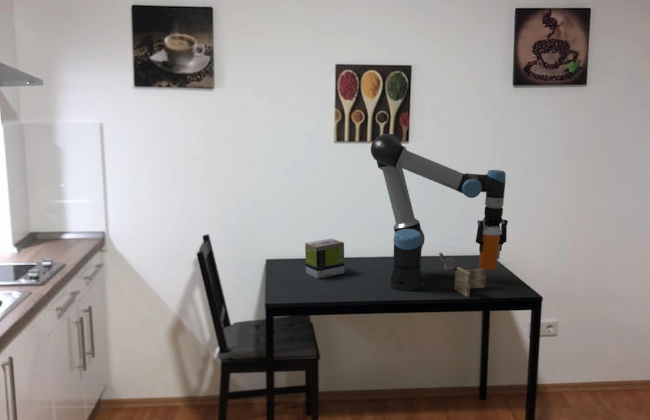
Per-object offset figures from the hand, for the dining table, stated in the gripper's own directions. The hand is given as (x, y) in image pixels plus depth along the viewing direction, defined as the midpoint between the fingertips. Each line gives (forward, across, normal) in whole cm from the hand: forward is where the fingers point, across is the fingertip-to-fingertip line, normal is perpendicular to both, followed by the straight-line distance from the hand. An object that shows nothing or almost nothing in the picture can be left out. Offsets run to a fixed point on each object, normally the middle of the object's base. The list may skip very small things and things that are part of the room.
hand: (489, 258), depth 279 cm
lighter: (+11, -8, +22) cm, 26 cm away
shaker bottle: (+4, 0, 0) cm, 4 cm away
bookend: (+11, -12, -10) cm, 19 cm away
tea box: (+13, -64, +32) cm, 73 cm away
